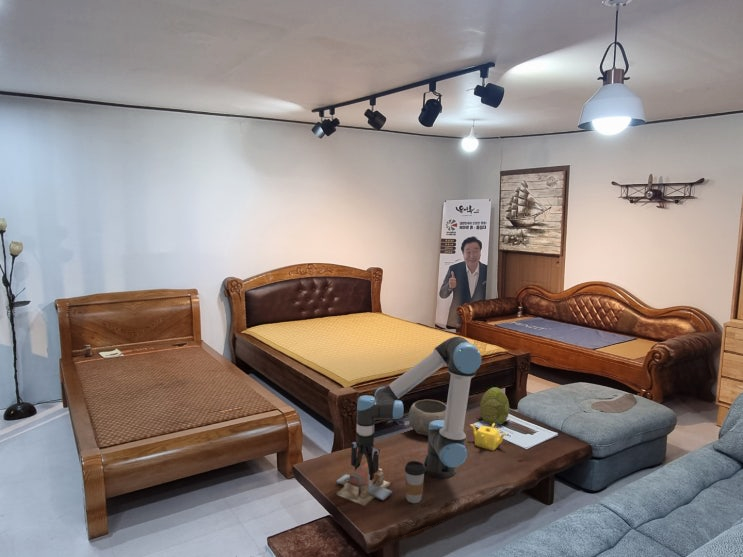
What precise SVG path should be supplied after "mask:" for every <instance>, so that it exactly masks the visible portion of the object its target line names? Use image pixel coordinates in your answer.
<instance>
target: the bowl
mask: <svg viewBox="0 0 743 557" xmlns="http://www.w3.org/2000/svg"><path fill="white" fill-rule="evenodd" d="M446 406H447V404H446V403H444V402H442V401H440V400H436V399H421V400H417V401H415V402H413V403H412V405H411V406H410V408H409V412H408V416H407V417H408V419H407V420H408V422H409V425H410V427H411V428H412V429H413V430H414V431H415V432H417V433H418V434H420V435H422V436H426V437H428V434H429V429H428V428H429V424H430V422H432V421H435V420H445V413H446Z"/></svg>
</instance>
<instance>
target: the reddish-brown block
mask: <svg viewBox="0 0 743 557" xmlns="http://www.w3.org/2000/svg"><path fill="white" fill-rule="evenodd" d="M359 467H360V468H359V469H357V470H356V471H355V470H354V471H353V472H351V473H350V474H349V475H350V484H351V485H354V486H357V487H359V494H360V491H361V486H362V485H363V484H364V483H365V484H367V477H368V472H369V468H368V463H367V462H365V464H363V465H360V466H359ZM379 468H380V463H378V471H377V472H376V473H374V479H373V480H372V484H373V483H374V482H375V481H376V474H377V473H379Z"/></svg>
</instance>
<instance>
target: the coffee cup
mask: <svg viewBox="0 0 743 557" xmlns="http://www.w3.org/2000/svg"><path fill="white" fill-rule="evenodd" d="M423 464H424V463H422V462H421V461H418V460H417V461H416V460H412V461H411V460H410V461H408V462H406V464H405V466H404V472H405V473H404V475H405V476H404V477H405V479H404V480H405V481H404V482H405V498H406V501H407V502H409V503H412V504H417V503H420V502H421V501H422V496H423V491H424V489H423V488H424V481H425V480H424V479H425V478H424V477H425V473H426V472H425V468H424V465H423Z"/></svg>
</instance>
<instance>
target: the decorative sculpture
mask: <svg viewBox="0 0 743 557" xmlns="http://www.w3.org/2000/svg"><path fill="white" fill-rule="evenodd" d="M479 411H480V416H481V418H482V419H483V421H484V422H485V423H487V422H488V423H487V424H489V423H491V424H490V425H492V424H493V423H495V424H499V425H503V424H504V423H505V422H506V421H507V419H508V417H509V415H510V414H509V413H510V404H509V399H508V396H507V395H506V393H505V392H504V391H503V390H502V389H501V388H499V387H497V386H496V387H494V386H493V387H491V388H489V389H487V391H485V393H484V394H483V395H482V397H481V400H480V404H479Z"/></svg>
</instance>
